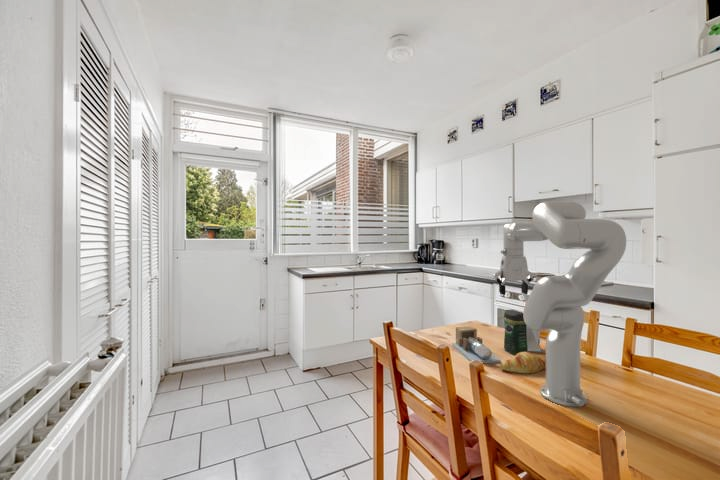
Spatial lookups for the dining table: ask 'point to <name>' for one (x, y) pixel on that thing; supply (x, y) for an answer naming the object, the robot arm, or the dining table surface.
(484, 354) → the tube
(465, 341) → the guide
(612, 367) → the dining table surface
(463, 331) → the socket
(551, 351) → the robot arm
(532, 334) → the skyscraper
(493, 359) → the board
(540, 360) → the croissant
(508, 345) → the coffee jar
